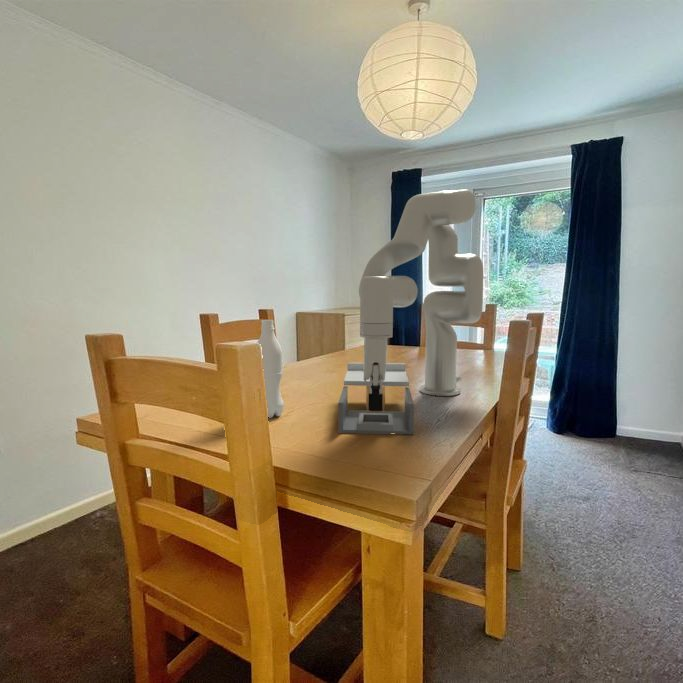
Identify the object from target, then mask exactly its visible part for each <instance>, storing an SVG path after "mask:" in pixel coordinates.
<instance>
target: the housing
mask: <svg viewBox="0 0 683 683" xmlns="http://www.w3.org/2000/svg"><path fill="white" fill-rule="evenodd" d="M348 387H349V385H343V387H342V390H341V394H340V396H339V400H338V402H337V403H338V406H337V407H338V409H337V410H338V434H359V433H361V434H363V435H365V434H366V435H371V434H372V435H392V434H391V433H395V434H394V435H397V434H413V435H414V424H415V423H414V422H415V421H414V420H415V418H414V415H415V412H414V411H415V403H414V400H413V397H412V393H411V390H410V386H404V411H403V410H385V411H383V412H369V411H367V410H366V409H365V410H363V409H359V410H358V409H349V408H348V407H349V406H348V404H349V403H348V402H349V401H348V396H349V394H348ZM368 433H370V434H368Z"/></svg>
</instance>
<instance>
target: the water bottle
mask: <svg viewBox="0 0 683 683" xmlns="http://www.w3.org/2000/svg"><path fill="white" fill-rule="evenodd" d="M260 324H261V326H260V327H261V328H260V331H261V334H260V337H259V339H258V340H257V342H256V344H257V343H259V344H261V347H262V355H263V369H264V379H265V389H266V400H267V408H268V417H269V418H268V419H272V418H273V417H274V416H276V417H280V416H281V415H282V413H283V412H284V407H285V406H284V405H285V403H284V400H283V398H282V394H281V380H282V378H283V375H284V370H283V349H282V346H281V344H280V342H279V340H278V339H277V337H276V333H275V331H274V330H275V329H276V328H275V327H274V319H262V320H261V322H260Z"/></svg>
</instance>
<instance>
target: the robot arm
mask: <svg viewBox="0 0 683 683" xmlns="http://www.w3.org/2000/svg"><path fill="white" fill-rule="evenodd" d="M476 206H477V202H476V198H475V195H474V193H473V192H472V191H471V190H469V189H467V188H466V189H457V190H456V189H455V190H454V189H453V190H452V189H451V190H440V191H433V192H426V193H419V194H416V195H413V196H412V197H410V198H409V199H408V200H407V202H406V204H405V206H404V209H403V211H402V214H401V217H400V220H399V223H398V225H397V228H396V231H395V234H394V236H393V238H392V239H391V240H390V241H389V242H386V244H385V245H384V246H382V247H381V248H380V249H379V250H378V251H377V252H375V254H374V255H373V256H372V257H371V258H370V259H369V260H368V262H367V264H366V265H365V268H364V270H363V274H362V275H361V276H362V277H361V279H360V283H359V288H358V295H359V337H360V338H363V339H364V341H363V363H364V375H363V380H364V381H366V380H369V378H370V393H369V403H368V410H369V411H382V408H383V394H382V381H384V380H385V373H386V363H388V361H387V360H388V358H387V357H388V339H390V338H393V335H394V334H393V330H394V329H393V328H394V308H407V307H409V306H411V305H413V304H414V303H415V301H416V300H417V298H418V292H419V290H418V285H417V283H416V282H415V280H414V279H413V278H411V277H410V276H407V275H387V274H388V273H389V272H391V270H393V269H394V268H396V267H399V266H400V265H403V264H406V263H408V262H409V261H412V260H414V259H415V258H418V257H419V256H421V255H422V254H423V253H424V252H425V250H426V248H427V247H426V246H427V245H428V280H429V282H430V283H431V285H433V286H435V287H443V288H444V287H446V288H447V287H449V288H450V287H453V288H454V287H457V288H458V287H462V288H463V289H464V291H463V290H460V291H459V290H457V291H456V290H438V291H437V290H436V291H432V292H430V293H428V294H427V295H425V298H424V299H423V303H422V304H423V307H422V308H423V315H424V322H425V354H424V355H425V356H424V358H425V359H424V361H425V362H424V383H423V384H421V385H420V386H419V391H420V393H423V394H425V395H429V396H435V395H436V397H453V396H457V395H460V393H461V388H460V387H459V386H457V383H458V382H461V381H462V377H461V375H457V355H458V354H457V352H458V351H457V350H458V349H457V348H458V335H457V333H456V330H455V329H454V327H453V325H452V324H453V323H455V324H456V323H457V324H474V323H475V324H476V323H477V322H478V321H479V320H481V317H482V313H483V308H484V307H483V304H484V300H483V299H484V265H483V260H482V259H481V257H480V256H479V255H477V254H474V253H459V252H458V250H459V249H458V248H459V247H458V245H459V243H458V242H459V238H458V235H457V233H456V231H455V230H454V229H453V227H452V226H451V225H457V224H458V225H459V224H462V223H466V222H470V220H471V219H472V218H473V217H474V215H475V212H476V210H477V209H476V208H477V207H476ZM451 323H452V324H451Z"/></svg>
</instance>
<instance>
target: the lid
mask: <svg viewBox="0 0 683 683" xmlns="http://www.w3.org/2000/svg"><path fill="white" fill-rule="evenodd" d="M406 365H407V364H406V363H405V362H393V363H392V362H387V363H386V373H385V380H384V381H382V385H383V386H385V387H410V381H409V378H408V374H407V372H406V369H407V368H406ZM363 375H364V362H348V363H347V371H346V374H345V376H344V378H343V386H356V387H357V386H361V387H363V386H364V387H366V386H368V385H370V378H369V380H366V381H364V380H363Z"/></svg>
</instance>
